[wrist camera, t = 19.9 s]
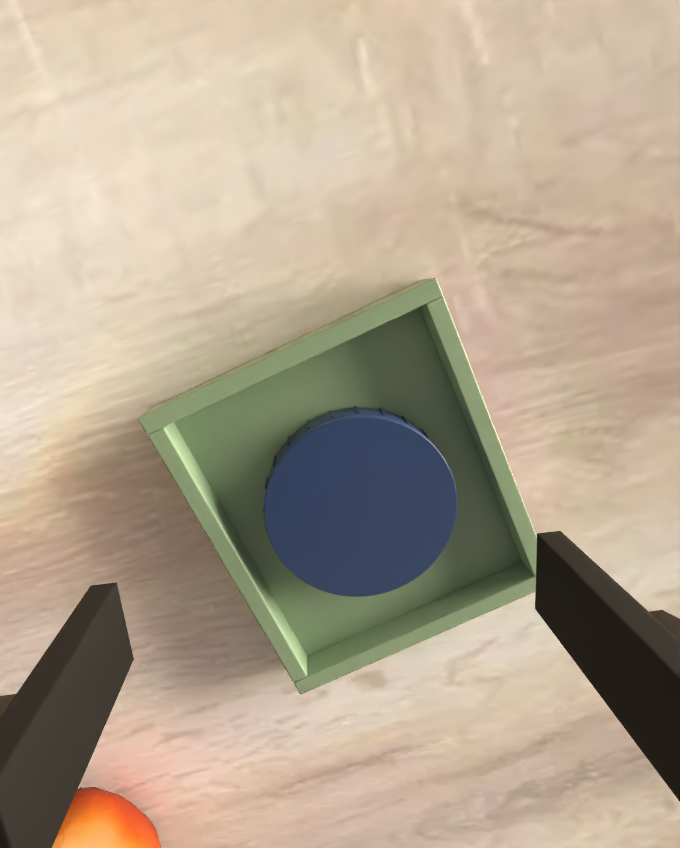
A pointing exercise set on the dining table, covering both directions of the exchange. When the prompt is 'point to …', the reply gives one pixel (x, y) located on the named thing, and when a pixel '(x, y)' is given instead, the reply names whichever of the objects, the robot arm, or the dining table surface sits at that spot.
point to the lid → (359, 502)
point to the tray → (314, 396)
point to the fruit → (105, 823)
